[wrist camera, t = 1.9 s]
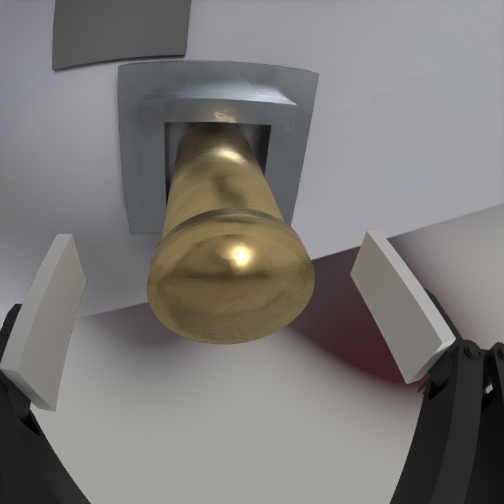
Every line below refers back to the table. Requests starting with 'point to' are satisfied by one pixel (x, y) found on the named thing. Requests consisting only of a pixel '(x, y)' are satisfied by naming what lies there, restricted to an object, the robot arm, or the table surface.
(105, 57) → the mat
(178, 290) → the brass flared knob
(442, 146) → the table surface
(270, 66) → the housing
